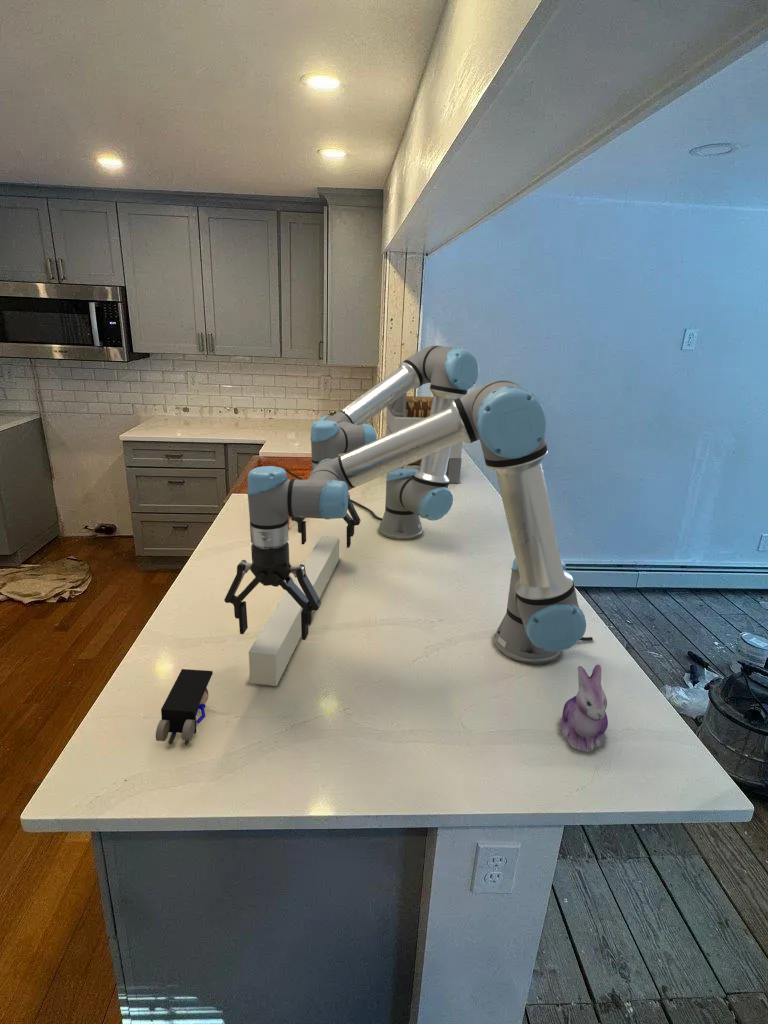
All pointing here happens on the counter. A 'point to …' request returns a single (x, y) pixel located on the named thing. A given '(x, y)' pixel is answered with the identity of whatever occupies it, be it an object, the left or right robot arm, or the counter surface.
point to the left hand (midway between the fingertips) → (326, 544)
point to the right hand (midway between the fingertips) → (274, 633)
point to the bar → (290, 618)
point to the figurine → (586, 712)
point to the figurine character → (184, 705)
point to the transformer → (413, 411)
